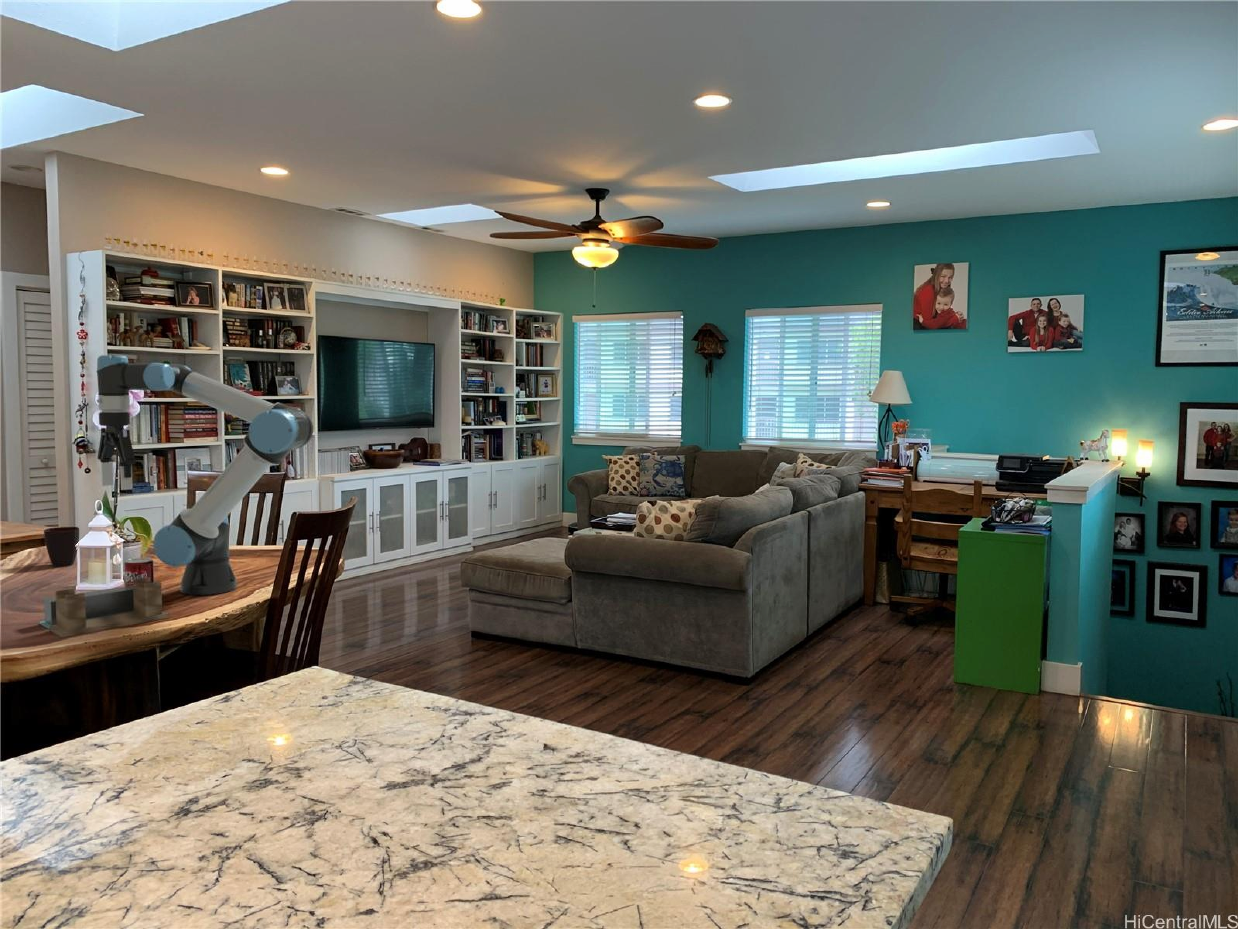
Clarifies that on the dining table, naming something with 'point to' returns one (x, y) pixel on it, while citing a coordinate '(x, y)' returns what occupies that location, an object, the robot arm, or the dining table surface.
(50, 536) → the cup
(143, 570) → the soda can
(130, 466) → the robot arm
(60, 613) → the stand
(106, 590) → the rail
